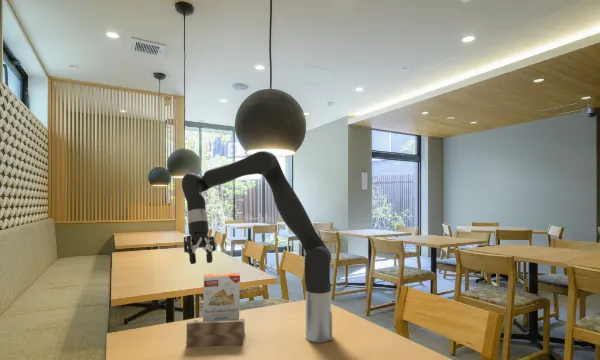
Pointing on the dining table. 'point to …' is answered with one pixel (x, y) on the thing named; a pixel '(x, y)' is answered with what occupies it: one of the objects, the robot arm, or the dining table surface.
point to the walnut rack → (215, 333)
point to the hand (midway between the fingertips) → (201, 263)
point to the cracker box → (221, 297)
